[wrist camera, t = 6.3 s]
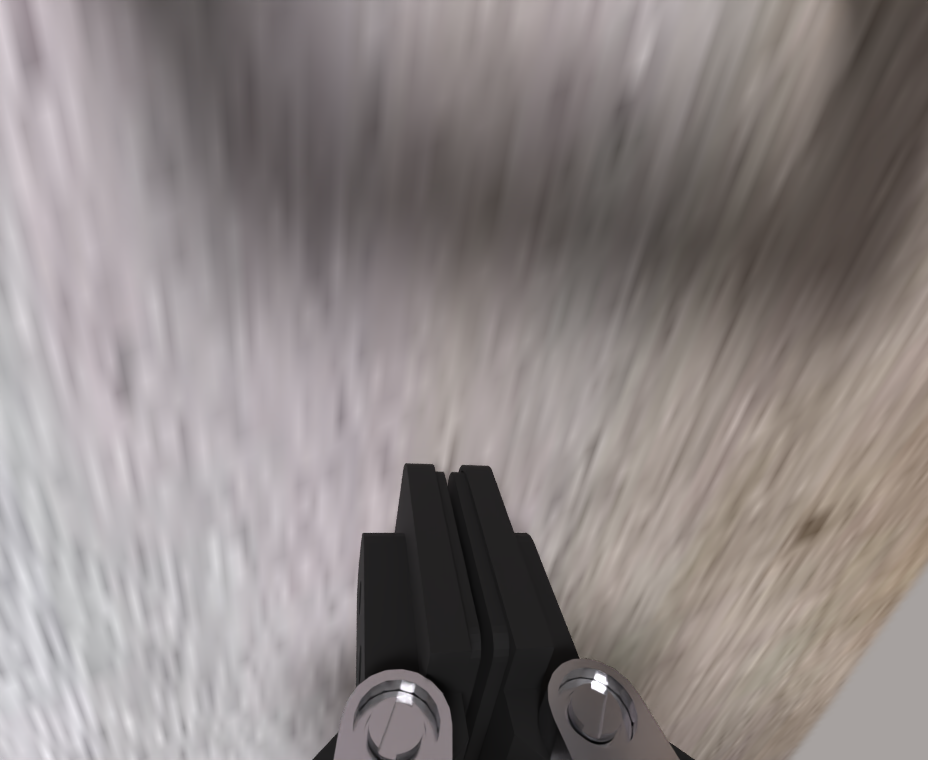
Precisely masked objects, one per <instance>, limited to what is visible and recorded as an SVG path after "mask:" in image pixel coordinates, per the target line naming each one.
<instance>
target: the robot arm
mask: <svg viewBox="0 0 928 760" xmlns="http://www.w3.org/2000/svg"><path fill="white" fill-rule="evenodd" d="M313 760H694V759H693V758H691V757H690V756H688V755H687V754H686V753H684V752H683V751H681V750H680V749H678V748H677V747H676V746H674V745H673V744H671V743H670V742H668V740H667V738H666V737H665V735H664V734H663V732H662V730H661V729H660V727H659V725H658V724H657V722H656V721H655V719H654V717H653V716H652V714H651V712H650V711H649V709H648V708H647V706H646V704H645V703H644V701H643V699H642V698H641V696H640V695H639V693H638V692H637V691H636V689H635V688H634V687H633V685H632V684H631V683H630V682H629V680H628V679H626V678H625V677H624V676H623V675H622V674H620V673H619V672H618V671H617V670H616V669H614V668H612V667H610V666H608V665H606V664H604V663H602V662H599V661H595V660H591V659H587V658H585V659H579V656H578V654H577V651H576V649H575V646H574V643H573V641H572V638H571V636H570V633H569V631H568V628H567V626H566V623H565V621H564V618H563V615H562V613H561V610H560V608H559V605H558V603H557V600H556V598H555V595H554V593H553V590H552V587H551V585H550V582H549V580H548V577H547V575H546V572H545V570H544V567H543V565H542V562H541V560H540V557H539V554H538V552H537V549H536V547H535V544H534V542H533V540H532V538H531V536H530V535H529V534H527V533H514V531H513V528H512V525H511V523H510V520H509V517H508V514H507V511H506V509H505V506H504V503H503V500H502V497H501V495H500V492H499V489H498V486H497V483H496V481H495V478H494V475H493V472H492V470H491V468H490V467H489V466H476V465H462V466H461V467H460V469H459V472H451V474H450V476H449V481H448V487H447V482H446V478H445V474H444V472H435V467H434V465H433V464H408V463H406V464H405V465H404V469H403V476H402V484H401V491H400V498H399V506H398V513H397V520H396V528H395V533H363V534H362V540H361V549H360V559H359V571H358V588H357V651H356V689H355V690H354V691H353V693H352V694H351V695H350V697H349V698H348V700H347V702H346V705H345V708H344V711H343V714H342V717H341V721H340V727H339V732H338V733H337V734H336V735H335V736H334V737H333V738H332V739H331V741H330V742H329V743H328V744H327V745H326V746H325V747H324V748H323V749H322V750H321V751H320V752H319V753H318V754H317V755H316V756H315V758H314V759H313Z"/></svg>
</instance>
